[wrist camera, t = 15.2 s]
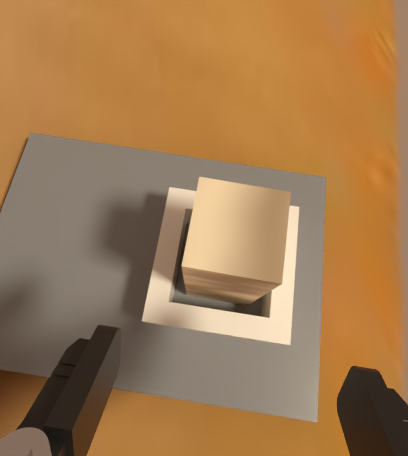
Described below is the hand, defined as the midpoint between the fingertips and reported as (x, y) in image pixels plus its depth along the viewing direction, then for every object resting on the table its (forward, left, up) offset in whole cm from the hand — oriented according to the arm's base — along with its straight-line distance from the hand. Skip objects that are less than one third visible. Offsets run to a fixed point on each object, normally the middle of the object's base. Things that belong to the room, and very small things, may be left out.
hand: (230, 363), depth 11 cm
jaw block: (0, +6, -12) cm, 13 cm away
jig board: (-5, +6, -13) cm, 15 cm away
